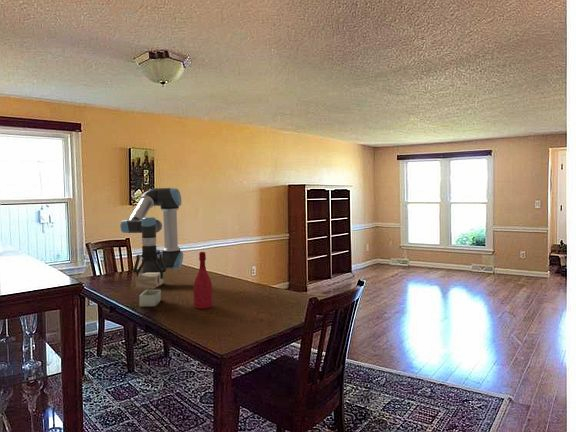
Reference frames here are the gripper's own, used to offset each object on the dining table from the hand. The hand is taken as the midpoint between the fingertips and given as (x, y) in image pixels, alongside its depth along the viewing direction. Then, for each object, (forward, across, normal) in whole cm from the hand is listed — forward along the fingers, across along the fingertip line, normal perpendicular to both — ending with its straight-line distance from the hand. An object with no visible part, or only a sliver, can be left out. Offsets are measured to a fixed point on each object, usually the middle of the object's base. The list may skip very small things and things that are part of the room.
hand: (150, 284), depth 238 cm
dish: (+11, 0, 0) cm, 11 cm away
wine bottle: (+11, +30, -11) cm, 34 cm away
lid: (+1, 0, 0) cm, 1 cm away
